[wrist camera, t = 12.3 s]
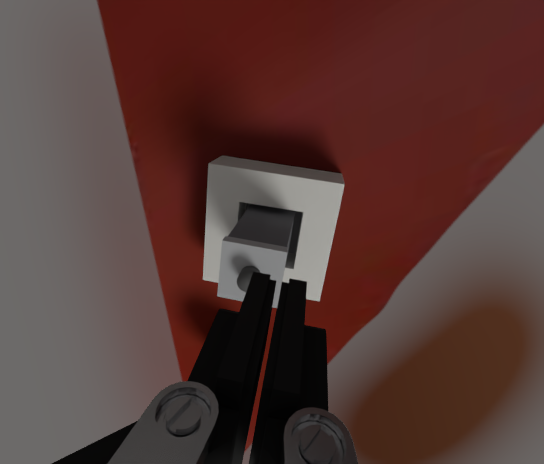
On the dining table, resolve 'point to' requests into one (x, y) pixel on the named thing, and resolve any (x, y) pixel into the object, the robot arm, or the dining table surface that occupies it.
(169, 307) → the dining table surface
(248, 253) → the plug
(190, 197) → the dining table surface
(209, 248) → the socket
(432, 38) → the dining table surface
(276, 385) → the robot arm
